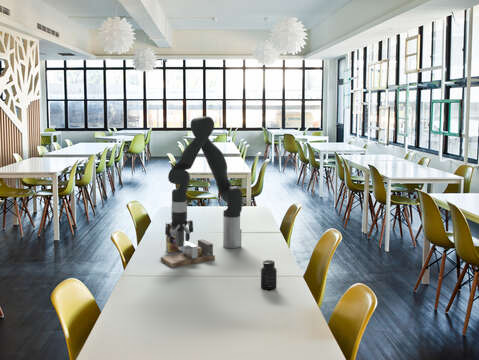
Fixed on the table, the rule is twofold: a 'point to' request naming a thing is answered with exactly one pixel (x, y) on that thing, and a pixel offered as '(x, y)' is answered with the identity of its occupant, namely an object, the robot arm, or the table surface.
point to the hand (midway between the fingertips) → (179, 242)
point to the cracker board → (185, 260)
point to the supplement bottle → (268, 276)
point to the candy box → (170, 246)
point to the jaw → (185, 245)
